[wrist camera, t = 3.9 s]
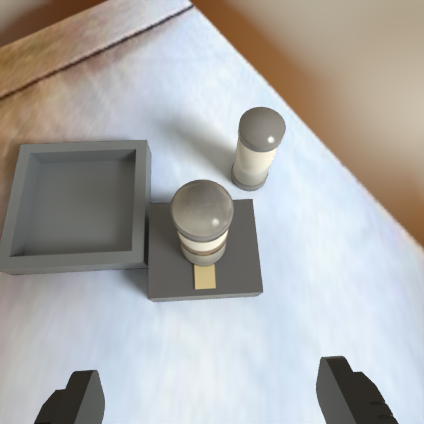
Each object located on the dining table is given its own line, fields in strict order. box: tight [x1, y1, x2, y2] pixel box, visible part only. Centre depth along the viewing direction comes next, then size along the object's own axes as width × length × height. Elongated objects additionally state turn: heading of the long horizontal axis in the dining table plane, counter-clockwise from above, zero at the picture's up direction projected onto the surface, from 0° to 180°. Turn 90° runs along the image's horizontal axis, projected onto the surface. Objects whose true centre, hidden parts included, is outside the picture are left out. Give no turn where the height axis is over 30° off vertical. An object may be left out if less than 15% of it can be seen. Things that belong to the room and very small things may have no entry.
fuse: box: [231, 107, 286, 191], centre depth 27 cm, size 4×4×8 cm
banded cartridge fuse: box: [171, 180, 234, 267], centre depth 21 cm, size 4×4×8 cm
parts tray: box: [0, 140, 151, 275], centre depth 28 cm, size 12×12×2 cm
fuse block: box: [148, 199, 263, 302], centre depth 26 cm, size 9×8×3 cm
